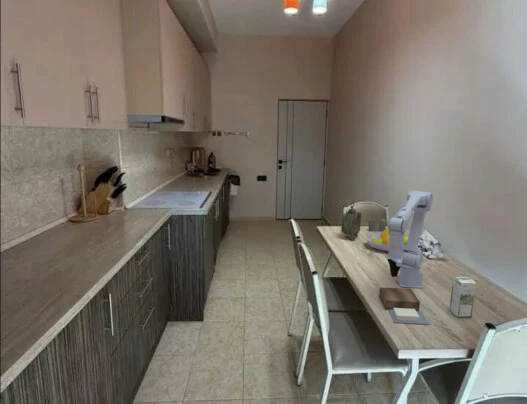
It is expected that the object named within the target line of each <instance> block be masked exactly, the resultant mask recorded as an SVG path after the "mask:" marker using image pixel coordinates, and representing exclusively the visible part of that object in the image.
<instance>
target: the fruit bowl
mask: <svg viewBox="0 0 527 404" xmlns="http://www.w3.org/2000/svg"><path fill="white" fill-rule="evenodd" d="M389 237H390V235H389V230H388V227H387V228H386V229H385V230H384V231H381V232H376V233H375V232H374V233H370V234H367V235H365V239H366V242H367V244H368V245H370V246H371V247H372V248H374V249H376V250H378V251H382V252H389ZM408 237H409V235H404V245H406V244H407V241H408ZM404 245H403V246H404Z"/></svg>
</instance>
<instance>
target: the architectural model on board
mask: <svg viewBox="0 0 527 404" xmlns="http://www.w3.org/2000/svg"><path fill="white" fill-rule="evenodd" d="M386 225H387V221H386V218H382V217H381V220H372V221H370V220H368V231H369V232H383V231H384V230H385V229H387V228H386V227H387V226H386Z"/></svg>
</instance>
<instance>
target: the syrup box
mask: <svg viewBox="0 0 527 404" xmlns="http://www.w3.org/2000/svg"><path fill="white" fill-rule="evenodd" d="M476 287H477V282H476V281H474V280H473V279H472V278H471V277H468V276H453V278H452V287H451V294H450V300H449V301H450V302H449V304H450V305H449V311H450V312H451V313H452V314H453V315H454V316H456V317H457V318H472V315H473V309H474V302H475V296H476V295H475V294H476Z"/></svg>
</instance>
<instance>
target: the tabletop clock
mask: <svg viewBox="0 0 527 404" xmlns="http://www.w3.org/2000/svg"><path fill="white" fill-rule="evenodd" d="M354 207H355V202H354V201H351V203H350V208H348V211H346V212H344V213H343V214H342V215H341V227H340V228H341V231H340V232H341V233H342V234H344V235H346V236H345V237H346V239H348V238H349V237H350V238H351V239H350V240H351V242H354V238H353V236H355V237H356V238H357V237H359V236H358V235H359V233H360V231H361V226H362V225H361V223H362V222H361V221H362V213H361V212H359V211H357V210H356V209H355V208H354Z"/></svg>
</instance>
